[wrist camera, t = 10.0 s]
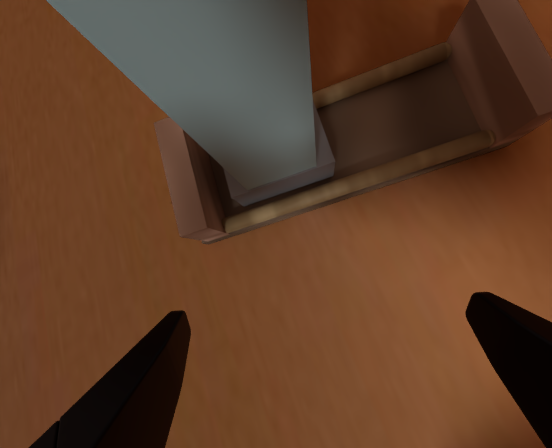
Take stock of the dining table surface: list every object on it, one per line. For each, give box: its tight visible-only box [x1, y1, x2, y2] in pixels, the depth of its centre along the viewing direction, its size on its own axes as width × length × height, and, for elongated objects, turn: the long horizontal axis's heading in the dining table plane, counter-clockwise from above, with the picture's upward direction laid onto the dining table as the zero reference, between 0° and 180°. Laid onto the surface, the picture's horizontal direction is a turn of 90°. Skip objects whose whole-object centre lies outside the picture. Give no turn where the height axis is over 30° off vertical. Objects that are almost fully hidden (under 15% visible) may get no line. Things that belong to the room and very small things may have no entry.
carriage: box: [46, 0, 335, 207], centre depth 11 cm, size 6×4×14 cm
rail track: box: [154, 0, 552, 244], centre depth 16 cm, size 20×7×4 cm, turn 107°
